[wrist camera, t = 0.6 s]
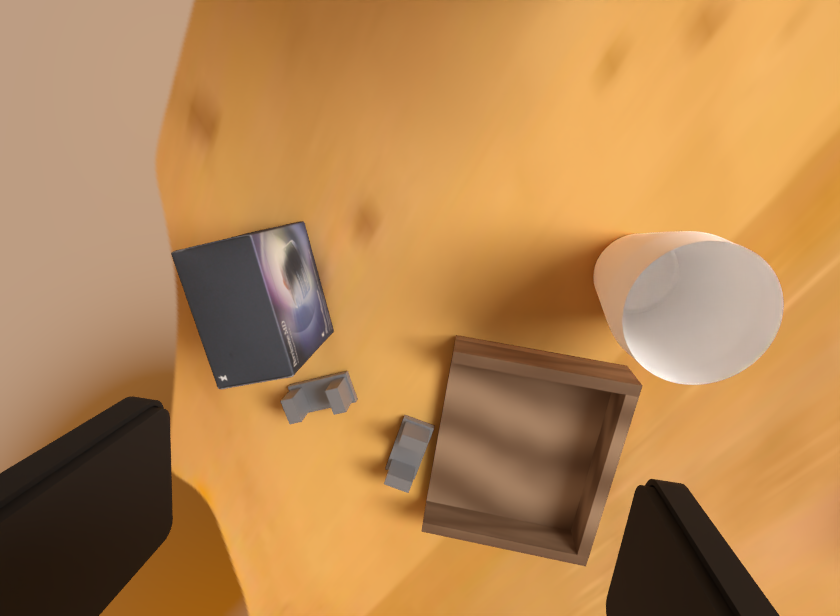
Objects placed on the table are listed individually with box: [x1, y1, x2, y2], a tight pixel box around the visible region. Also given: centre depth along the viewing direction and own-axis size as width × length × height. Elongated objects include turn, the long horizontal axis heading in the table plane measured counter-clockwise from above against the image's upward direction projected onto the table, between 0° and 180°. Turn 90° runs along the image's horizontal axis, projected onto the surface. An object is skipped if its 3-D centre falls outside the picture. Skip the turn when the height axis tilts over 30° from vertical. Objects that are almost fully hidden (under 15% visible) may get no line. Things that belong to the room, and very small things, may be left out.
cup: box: [593, 231, 784, 385], centre depth 33 cm, size 9×9×12 cm
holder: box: [422, 335, 642, 566], centre depth 42 cm, size 18×15×4 cm
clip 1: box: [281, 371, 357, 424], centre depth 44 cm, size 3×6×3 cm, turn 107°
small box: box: [171, 222, 334, 389], centre depth 37 cm, size 11×6×10 cm, turn 13°
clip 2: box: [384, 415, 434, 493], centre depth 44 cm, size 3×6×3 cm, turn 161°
